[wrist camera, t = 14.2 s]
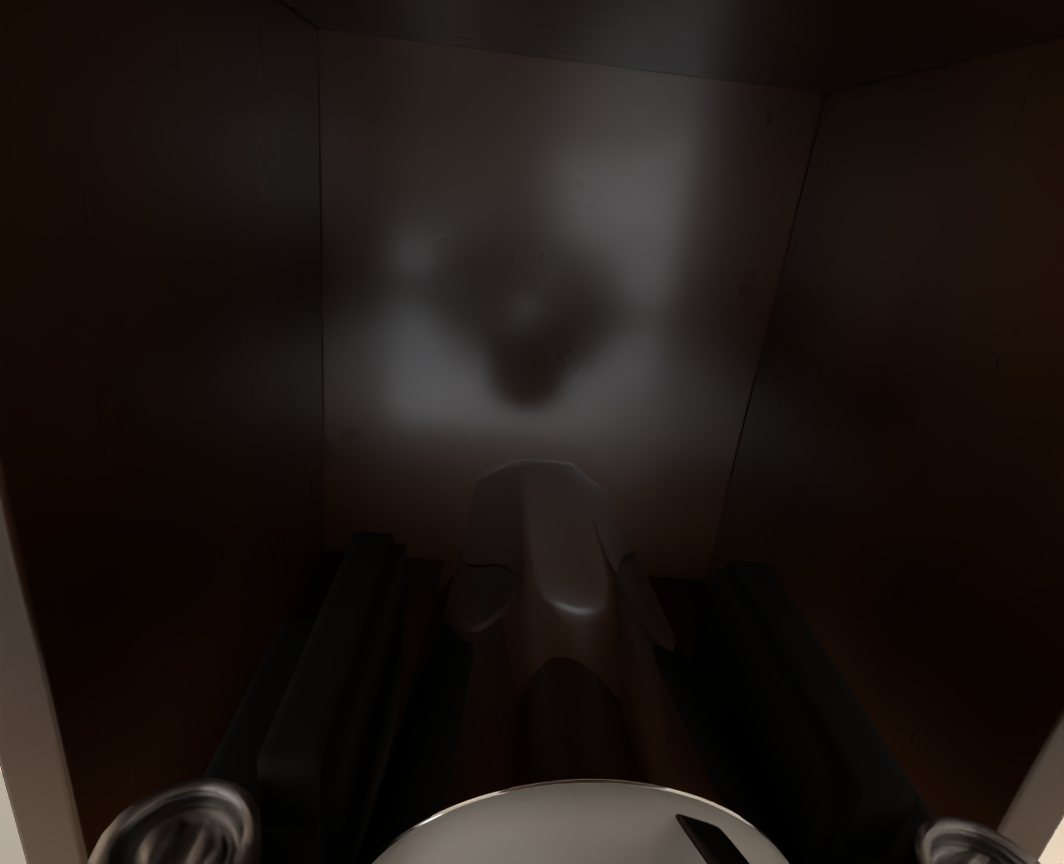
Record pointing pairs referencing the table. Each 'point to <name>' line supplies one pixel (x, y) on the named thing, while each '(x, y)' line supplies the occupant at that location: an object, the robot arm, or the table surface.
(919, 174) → the chest
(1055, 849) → the table surface
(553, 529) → the milkshake
